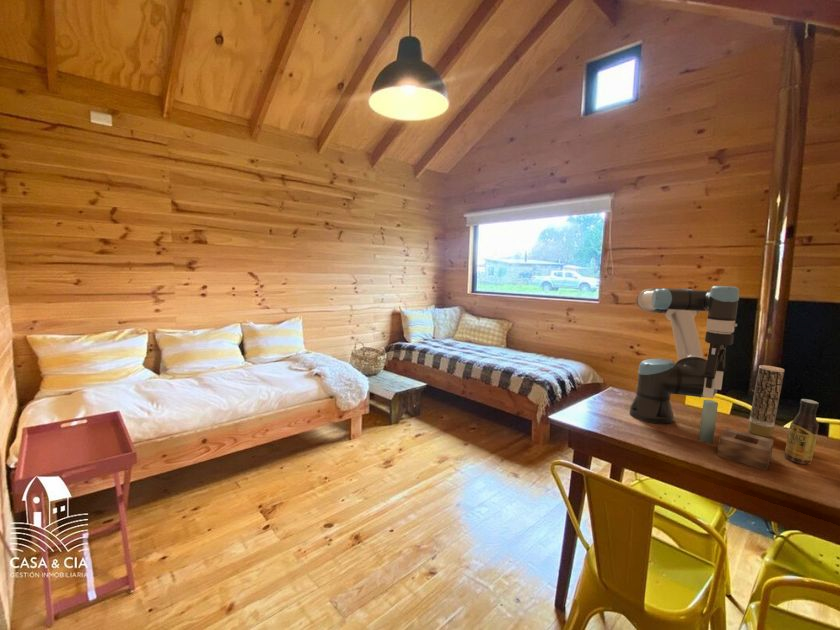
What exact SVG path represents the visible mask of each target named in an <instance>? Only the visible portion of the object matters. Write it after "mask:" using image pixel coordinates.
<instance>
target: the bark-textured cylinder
mask: <svg viewBox="0 0 840 630" xmlns="http://www.w3.org/2000/svg"><path fill="white" fill-rule="evenodd" d="M784 376H785V369H784V368H782V367H777V366H772V365H766V364H762V365H761V364H760V365H759V366H758V371H757V376H756V382H755V386H754V387H755V388H754V392H753V399H752V403H751V404H752V405H751V410H750V415H749V421H748V425H747V426H748V427H747V430H748V433H749V434H753V435H757V436H761V437H765V438H771V437H772V436H773V432H774V428H775V423H776V419H777V414H778V413H777V412H778V407H779V401H780V395H781V391H782V386H783V381H784V380H783V379H784Z"/></svg>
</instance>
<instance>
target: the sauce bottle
mask: <svg viewBox="0 0 840 630" xmlns="http://www.w3.org/2000/svg"><path fill="white" fill-rule="evenodd" d="M819 403H820V402H817V401H815V400H813V399H807V398H801V399H800V402H799V404H800V405H799V410H798V413H796V415H795V417H794V418H793V420H792V421H791V423H790V424H789V430H788V435H787V440H786V444H785V445H786V446H785V449H784V457H785V458H786V459H787V460H789V461H791V462H793V463H795V464H799V465H810V464H811V463H812V460H813V457H814V452H815V449H816V443H817V440H818V436H819V435H818V434H819V433H818V431H819V428H820V424H819V421H818V420H817V411H818V408H819V406H820V405H819Z"/></svg>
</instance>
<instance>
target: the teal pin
mask: <svg viewBox="0 0 840 630" xmlns="http://www.w3.org/2000/svg"><path fill="white" fill-rule="evenodd" d="M718 406H719V402H717V401H715V400H710V399H703V402H702V413H701V419H700V420H701V421H700V425H699V427H700V428H699V433H698V434H699V435H698V440H700V441H701V442H704V443H707V444H713V443H714V438H715V429H716V421H717V415H718V414H717V413H718Z"/></svg>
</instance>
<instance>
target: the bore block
mask: <svg viewBox="0 0 840 630" xmlns="http://www.w3.org/2000/svg"><path fill="white" fill-rule="evenodd" d="M774 441H775V440H774V439H772V438H769V437H762V436H758V435H755V434H752V433H750V432H745V431H741V430H736V429H733V428H729V427H726V428H725V429H724V431H723V432H722V433H721V435H720V436H719V440H718V446H717V454H716V456H718V457H721V458H725V459H727V460H729V461H734V462H737V463H741V464H744V465H747V466H751V467H753V468H756V469H760V470H764V471H768V469H769V468H768V467H769V465H770V463H771V459H772V455H773V447H774Z"/></svg>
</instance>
